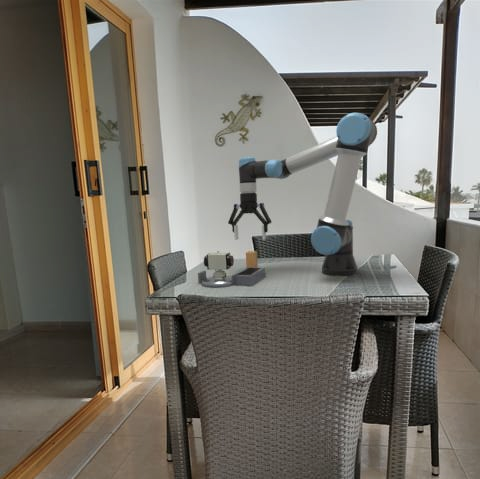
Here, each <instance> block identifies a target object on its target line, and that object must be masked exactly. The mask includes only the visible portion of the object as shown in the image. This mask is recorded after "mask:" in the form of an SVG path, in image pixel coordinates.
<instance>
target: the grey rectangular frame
mask: <svg viewBox="0 0 480 479" xmlns="http://www.w3.org/2000/svg"><path fill="white" fill-rule="evenodd" d="M238 272H241V275H237V276H234V275H233V274H231V276H232V282H233V285H232V286H239V287H240V286H242V287H252V286H255V285H256V284H257V283H258V282H261V281H262V280H263V279H265V278H266V277H267V276H266V272H267V271H266V267H261V266H260V267H244V268H242V269H241V270H239V271H238ZM234 277H235V278H236V279H235V278H234ZM234 279H235V280H236V281H235V282H236V283H237V284H236V283H235V282H234ZM235 284H236V285H235Z"/></svg>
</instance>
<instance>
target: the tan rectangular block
mask: <svg viewBox="0 0 480 479" xmlns="http://www.w3.org/2000/svg"><path fill="white" fill-rule="evenodd" d="M258 263H259V262H258V251H257V250H254V251H253V250H252V251H251V250H249V251H247V252H245V264H246V265H245V266H246V267H258V266H259V265H258ZM246 267H245V268H246Z"/></svg>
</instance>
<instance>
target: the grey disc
mask: <svg viewBox="0 0 480 479" xmlns="http://www.w3.org/2000/svg"><path fill="white" fill-rule="evenodd" d="M232 275H234V276H237V275H241V272H239V271H237V272H236V273H234V274H232ZM232 275H226V278H224V279H223V280H214V278H213V275H212V276H208V277H207V270H202V271H200V272H197V280H198V281H197V282H198V284H199V285H200V284H201V286H202V287H205V288H210V289H211V288H218V289H219V288H227V287H231V286H237V285H236V284H237V283H236V282H235V281H236V280H235V279H236V278H235V277H234V278H235V279H234V282H235V283H236V284H235V285H233V282H232Z"/></svg>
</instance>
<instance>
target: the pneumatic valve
mask: <svg viewBox="0 0 480 479" xmlns="http://www.w3.org/2000/svg"><path fill="white" fill-rule="evenodd" d="M234 260H235V259H234V255H231V252H220V250H217V251H216V252H209V253H207V254H206V255H205V256H204V257H203V265H204V267H206V268H207V270H208V271H210V270H214V272H213V273H212V276H213V278H214V280H223V279H224V278H226V276H227V272H226V271H225V270H229V269H230V268H232V267H233V266H234V264H235V263H234ZM207 270H206V271H207Z"/></svg>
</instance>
